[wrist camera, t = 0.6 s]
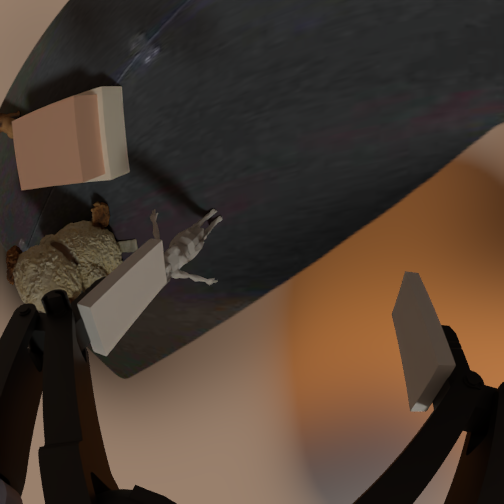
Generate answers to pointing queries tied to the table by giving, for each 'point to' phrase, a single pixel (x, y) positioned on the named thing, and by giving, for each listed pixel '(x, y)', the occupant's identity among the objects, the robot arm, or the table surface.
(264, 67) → the table surface
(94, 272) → the dog
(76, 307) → the robot arm
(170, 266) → the human figurine
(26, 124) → the stacked block pedestal
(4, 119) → the lion figurine
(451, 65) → the table surface
